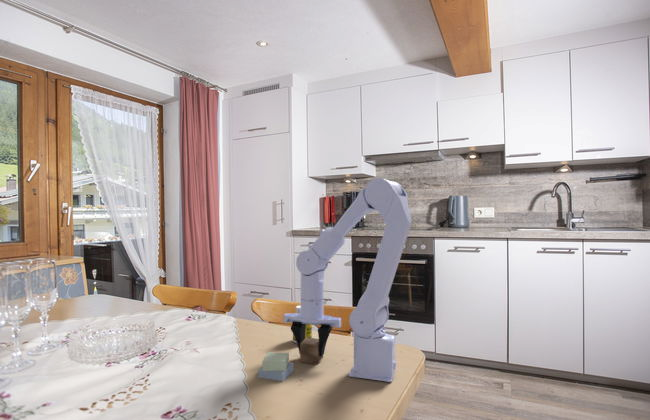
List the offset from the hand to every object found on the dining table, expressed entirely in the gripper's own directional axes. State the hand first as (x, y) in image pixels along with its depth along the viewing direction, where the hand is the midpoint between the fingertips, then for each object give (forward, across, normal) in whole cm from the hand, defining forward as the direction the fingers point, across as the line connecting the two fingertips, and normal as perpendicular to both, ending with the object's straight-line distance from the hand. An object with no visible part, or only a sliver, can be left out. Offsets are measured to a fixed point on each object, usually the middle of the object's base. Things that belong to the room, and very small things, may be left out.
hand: (311, 353), depth 92 cm
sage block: (0, +5, +10) cm, 11 cm away
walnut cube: (+1, 0, 0) cm, 1 cm away
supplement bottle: (+2, +7, -12) cm, 14 cm away
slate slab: (+2, +5, +10) cm, 11 cm away
